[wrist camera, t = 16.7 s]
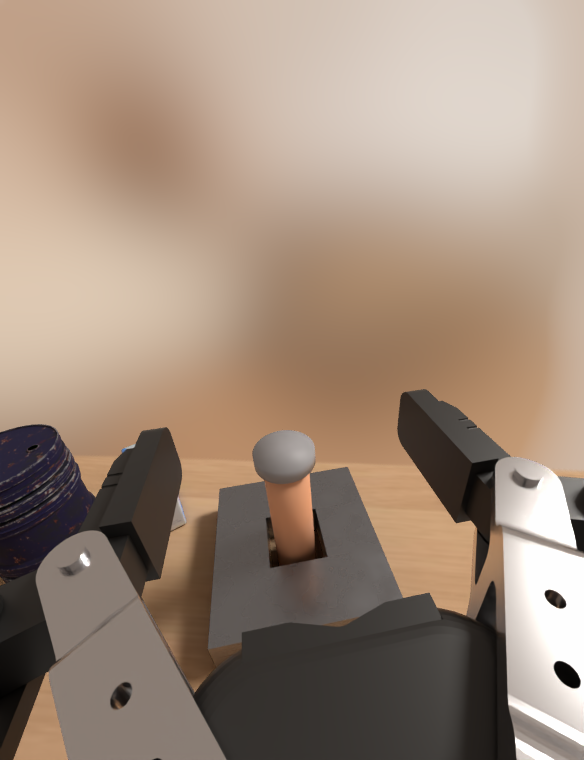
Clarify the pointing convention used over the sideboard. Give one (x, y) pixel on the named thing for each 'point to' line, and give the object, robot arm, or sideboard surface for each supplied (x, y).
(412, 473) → the sideboard surface
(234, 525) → the socket block
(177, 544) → the sideboard surface
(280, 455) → the pin
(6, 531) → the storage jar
